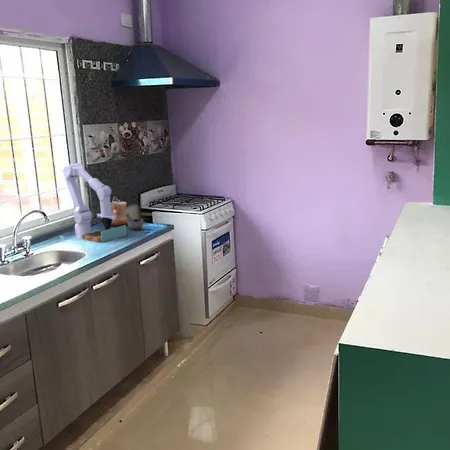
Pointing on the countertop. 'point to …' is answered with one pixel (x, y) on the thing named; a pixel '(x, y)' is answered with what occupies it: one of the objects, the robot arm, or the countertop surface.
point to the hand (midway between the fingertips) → (107, 230)
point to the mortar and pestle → (134, 222)
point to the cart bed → (94, 236)
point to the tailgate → (113, 233)
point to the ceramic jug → (118, 213)
